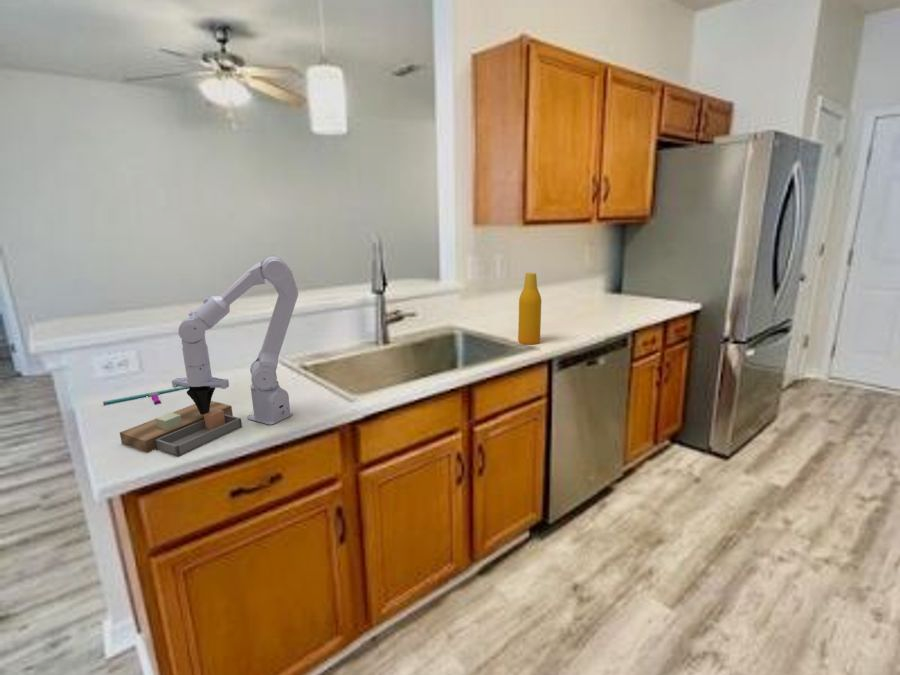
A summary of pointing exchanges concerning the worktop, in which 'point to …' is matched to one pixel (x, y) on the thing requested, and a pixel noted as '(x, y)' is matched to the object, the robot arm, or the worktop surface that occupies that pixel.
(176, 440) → the tray
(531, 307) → the beer bottle
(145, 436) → the board
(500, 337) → the worktop surface
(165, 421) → the tile sage
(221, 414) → the tile terracotta
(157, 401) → the squeegee
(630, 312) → the worktop surface
